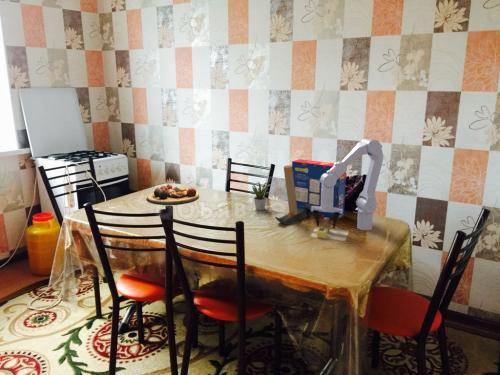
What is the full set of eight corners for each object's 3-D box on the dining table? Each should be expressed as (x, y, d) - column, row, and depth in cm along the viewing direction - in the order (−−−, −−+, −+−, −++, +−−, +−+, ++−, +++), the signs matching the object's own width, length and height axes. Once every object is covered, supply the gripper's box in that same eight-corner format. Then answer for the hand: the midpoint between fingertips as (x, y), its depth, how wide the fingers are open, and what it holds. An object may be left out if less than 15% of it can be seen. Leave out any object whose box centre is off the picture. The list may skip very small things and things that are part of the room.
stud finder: (318, 233, 201) (319, 227, 200) (327, 234, 200) (327, 228, 199) (316, 237, 197) (317, 230, 196) (325, 238, 195) (325, 231, 195)
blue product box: (343, 216, 230) (346, 164, 224) (337, 219, 224) (339, 167, 217) (298, 207, 247) (299, 159, 240) (291, 210, 241) (292, 161, 234)
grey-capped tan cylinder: (323, 229, 207) (323, 217, 206) (329, 230, 206) (330, 218, 205) (322, 231, 204) (322, 219, 203) (328, 232, 203) (329, 219, 202)
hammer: (283, 229, 216) (275, 173, 205) (276, 227, 220) (268, 172, 209) (310, 215, 227) (304, 161, 216) (303, 213, 231) (297, 159, 220)
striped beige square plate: (315, 228, 210) (315, 227, 210) (349, 232, 205) (349, 230, 205) (309, 238, 197) (309, 236, 197) (345, 242, 192) (345, 241, 192)
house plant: (275, 205, 251) (275, 177, 247) (274, 212, 237) (274, 183, 233) (251, 204, 252) (250, 177, 248) (248, 211, 239) (248, 183, 235)
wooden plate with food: (209, 196, 274) (209, 183, 272) (175, 207, 247) (174, 193, 246) (171, 190, 290) (171, 178, 289) (136, 201, 264) (135, 187, 262)
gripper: (310, 199, 200) (309, 227, 204) (341, 202, 196) (340, 230, 199) (313, 196, 207) (312, 223, 210) (343, 198, 202) (342, 226, 205)
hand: (326, 226), depth 205 cm, fingers open, 7 cm apart
